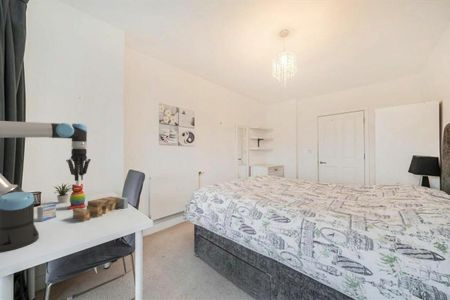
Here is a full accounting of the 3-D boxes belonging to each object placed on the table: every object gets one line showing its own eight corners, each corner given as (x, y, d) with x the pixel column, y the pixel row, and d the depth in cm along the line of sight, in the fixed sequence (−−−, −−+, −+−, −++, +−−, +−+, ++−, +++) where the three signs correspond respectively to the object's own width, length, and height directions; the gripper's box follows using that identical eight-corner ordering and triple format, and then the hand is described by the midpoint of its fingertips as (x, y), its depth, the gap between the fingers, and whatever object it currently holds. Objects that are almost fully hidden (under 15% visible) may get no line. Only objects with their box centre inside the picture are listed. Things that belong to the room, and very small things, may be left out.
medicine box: (42, 221, 116) (42, 207, 115) (37, 221, 116) (36, 207, 116) (56, 217, 123) (56, 203, 123) (51, 216, 124) (51, 203, 124)
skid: (105, 213, 130) (105, 205, 130) (98, 213, 130) (98, 205, 130) (116, 208, 142) (116, 200, 142) (109, 208, 142) (109, 200, 142)
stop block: (124, 208, 141) (124, 199, 141) (113, 206, 146) (113, 197, 146) (127, 207, 144) (127, 198, 144) (117, 205, 149) (117, 196, 149)
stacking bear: (66, 210, 137) (66, 185, 137) (71, 206, 146) (70, 183, 146) (84, 208, 141) (84, 184, 141) (87, 204, 150) (87, 182, 150)
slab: (96, 207, 124) (96, 203, 124) (87, 205, 128) (87, 201, 128) (119, 202, 138) (119, 198, 138) (110, 200, 142) (110, 196, 143)
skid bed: (84, 221, 116) (84, 211, 116) (73, 218, 121) (73, 209, 121) (102, 215, 126) (102, 206, 126) (91, 213, 131) (91, 204, 131)
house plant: (58, 206, 146) (58, 185, 146) (45, 204, 149) (45, 184, 149) (77, 201, 160) (77, 182, 160) (64, 200, 163) (64, 181, 163)
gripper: (70, 148, 111) (70, 188, 111) (93, 148, 123) (93, 184, 123) (63, 148, 114) (62, 186, 114) (86, 148, 126) (86, 183, 126)
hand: (78, 185), depth 118 cm, fingers closed
